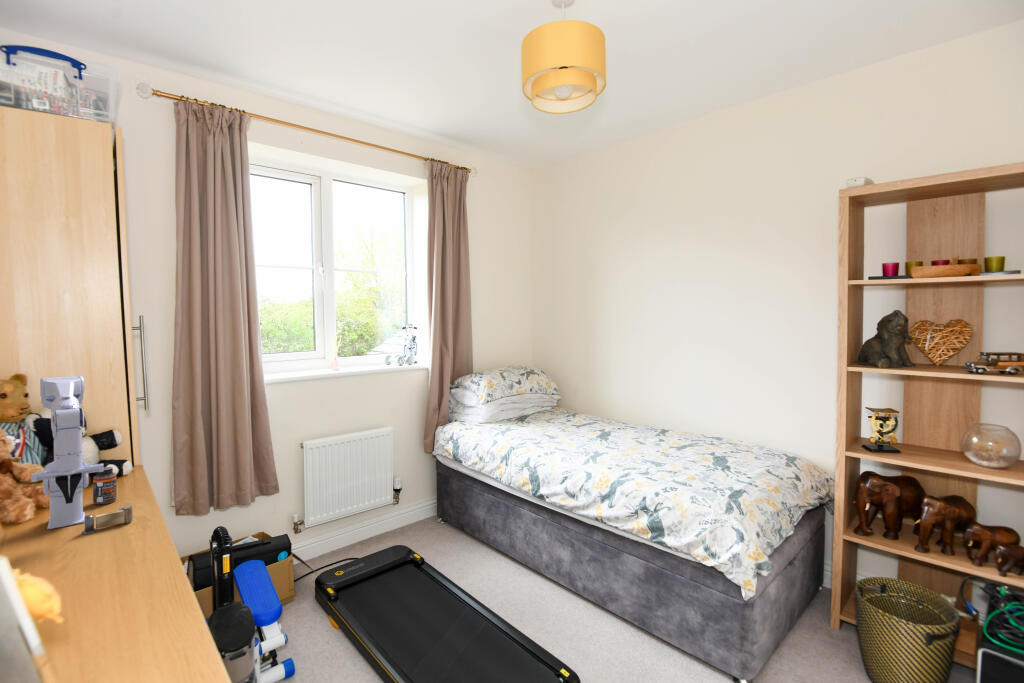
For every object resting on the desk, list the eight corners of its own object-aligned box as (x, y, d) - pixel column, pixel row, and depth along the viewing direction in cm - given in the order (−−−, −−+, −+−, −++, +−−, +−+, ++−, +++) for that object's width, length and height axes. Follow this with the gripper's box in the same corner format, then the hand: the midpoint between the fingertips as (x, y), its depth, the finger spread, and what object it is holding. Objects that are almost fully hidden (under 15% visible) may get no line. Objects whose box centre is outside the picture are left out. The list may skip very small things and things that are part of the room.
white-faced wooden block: (119, 522, 144) (119, 507, 144) (132, 519, 146) (131, 504, 146) (119, 523, 143) (119, 508, 143) (132, 520, 145) (132, 506, 145)
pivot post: (81, 531, 137) (81, 515, 137) (96, 528, 140) (96, 513, 139) (81, 535, 135) (81, 519, 135) (97, 532, 137) (96, 516, 137)
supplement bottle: (103, 506, 157) (102, 471, 156) (88, 505, 158) (87, 470, 158) (121, 500, 163) (120, 466, 162) (107, 498, 164) (106, 465, 163)
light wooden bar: (96, 530, 138) (96, 515, 138) (95, 528, 139) (95, 513, 139) (130, 522, 144) (130, 507, 144) (129, 520, 145) (129, 506, 145)
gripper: (29, 460, 125) (30, 513, 125) (103, 451, 134) (104, 500, 135) (32, 455, 130) (33, 505, 130) (102, 446, 140) (103, 493, 140)
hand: (69, 502), depth 133 cm, fingers closed
